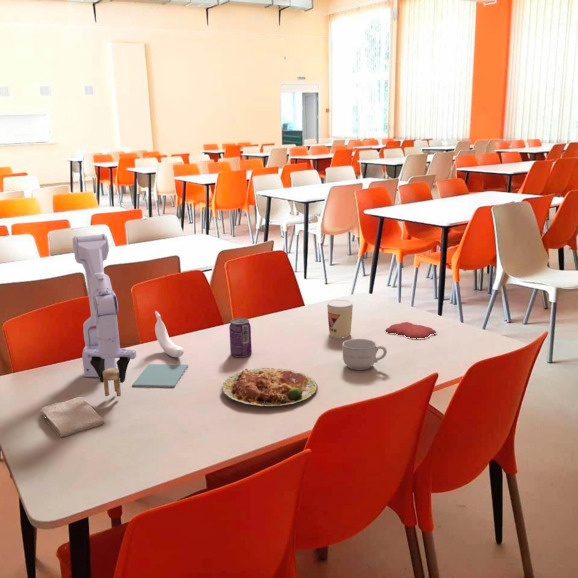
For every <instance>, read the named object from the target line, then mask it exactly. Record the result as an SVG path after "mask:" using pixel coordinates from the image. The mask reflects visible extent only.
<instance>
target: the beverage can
mask: <svg viewBox="0 0 578 578" xmlns="http://www.w3.org/2000/svg"><path fill="white" fill-rule="evenodd" d="M228 328H229V345H230V355H232V356H234V357H236V358H245V357H248V356H250V355H251V354H252V331H251V330H252V328H251V323H250V319H248V318H246V317H245V318H243V317H237V318H233V319H231V320H230V324H229V327H228Z"/></svg>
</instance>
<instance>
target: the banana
mask: <svg viewBox="0 0 578 578" xmlns="http://www.w3.org/2000/svg"><path fill="white" fill-rule="evenodd" d="M154 314H155V316H156V323H155V325H154V332H155V336H156V340H157V342H158V344H159V346H160V347H161V349H162V350H163V351H164V353H166V354H167V355H168V356H170V357H172V358H180V357H182V356H183V355H184V352H185V351H184V348H183V347H181V345H176V344H175V343H174V342H173V341H172V339H171V338H170V336H169V334H168V333H169V332H168V330H167V328H166V325H165V323H164V322H163V320H162V318H161V314H160V313H159V311H157V310H155V311H154Z"/></svg>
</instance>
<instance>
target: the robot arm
mask: <svg viewBox="0 0 578 578" xmlns="http://www.w3.org/2000/svg"><path fill="white" fill-rule="evenodd" d="M109 246H110V245H109V239H108V236H107V235H106V233H102V234H101V233H100V234H94V235H93V234H91V235H82V236H81V235H80V236H76V235H75V236H73V237H72V249H73V254H74V260H75V261H76V262H75V263H77V264H81V265H82V266H83V269H84V271H85V280H86V288H87V294H88V301H89V303H88V304H89V309H90V316H89V317H88V318H87V319H86V320H85V321H84V322H83V325H82V326H83V328H82V329H83V339H84V344H85V346H84V348H83V349H82V353H81V355H82V367H83V377H84V378H85V377H87V378H88V377H91V378H93V377H95V378H99V380H100V383H104V381H103V371H104V370H106V369H110V368H118V369H119V377H120V378H119V380H120V384H121V383H124V382H125V381H126V374H127V370H128V365H129V364H130V361H131V360H135V359H136V358H137V350H136V349H127V348H122V347H121V344H120V335H119V333H120V332H119V327H118V326H119V325H118V315H117V314H119V304H118V303H119V302H118V298H117V295H116V293H115V291H114V290H113V286H112V282H111V278H110V276H109V275H108V274H106V273H105V269H104V268H105V267H104V261H106V260H108V259H107V258H108V255H109V252H110V251H109V250H110V249H109ZM116 359H118V360H116Z"/></svg>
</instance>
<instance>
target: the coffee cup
mask: <svg viewBox="0 0 578 578" xmlns="http://www.w3.org/2000/svg"><path fill="white" fill-rule="evenodd" d="M326 307H327V320H328V321H327V322H328V332H329V336H330V337H332V338H334V337H338V338H337V339H343V338H342V337H346V338H348V336H349V335H350V336H351V333H352V322H353V321H352V320H353V307H354V304H353V302H352V301H350V300H346V299H333V300H330V301H328V302H327V304H326ZM350 336H349V337H350Z"/></svg>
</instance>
